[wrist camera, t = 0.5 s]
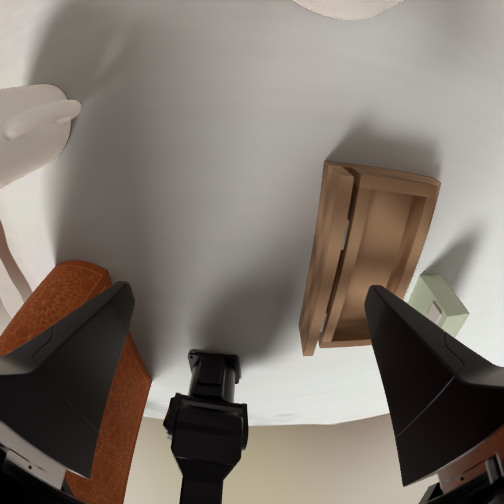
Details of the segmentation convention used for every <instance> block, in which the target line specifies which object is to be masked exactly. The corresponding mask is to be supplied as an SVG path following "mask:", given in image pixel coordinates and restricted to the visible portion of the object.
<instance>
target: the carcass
mask: <svg viewBox="0 0 504 504" xmlns="http://www.w3.org/2000/svg"><path fill="white" fill-rule="evenodd" d="M440 185H441V183H440V182H439V181H437V180H435V179H434V178H431V177H427V176H422V175H417V174H412V173H406V172H401V171H395V170H389V169H383V168H377V167H370V166H363V165H356V164H348V163H340V162H331V161H324V168H323V177H322V186H321V194H320V202H319V209H318V216H317V223H316V230H315V237H314V243H313V250H312V256H311V262H310V268H309V273H308V279H307V285H306V290H305V295H304V301H303V306H302V311H301V316H300V321H299V330H300V337H301V344H302V351H303V356H313V354H314V350H315V347H316V344H317V341H319V346H320V348H334V347H351V346H365V345H372V343H371V339H370V334H369V329H368V323H367V318H366V313H365V309H364V303H365V299H366V296H367V293H368V289H369V287H370V286H371V285H381V286H383V287H384V288H386V289H387V290H389V291H390V292H392V293H393V294H394V295H396V296H397V297H399V298H400V299H402V300H403V298H404V296H405V294H406V291H407V289H408V286H409V284H410V282H411V279H412V276H413V274H414V271H415V269H416V266H417V263H418V260H419V258H420V255H421V252H422V249H423V246H424V243H425V240H426V237H427V234H428V230H429V227H430V224H431V220H432V217H433V213H434V209H435V206H436V202H437V198H438V194H439V189H440Z"/></svg>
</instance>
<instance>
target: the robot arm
mask: <svg viewBox="0 0 504 504" xmlns="http://www.w3.org/2000/svg"><path fill="white" fill-rule="evenodd" d="M134 305H135V299H134V296H133V292H132V289H131V286H130V283H129V282H124V281H119V282H117V283H115V284H114V285H112V286H111V287H109V288H108V289H106V290H104V291H103V292H101V293H100V294H98V295H97V296H95V297H94V298H92V299H91V300H89V301H88V302H86V303H84V304H83V305H81V306H80V307H78V308H77V309H75V310H74V311H72V312H71V313H69V314H68V315H66V316H65V317H64V318H62V319H61V320H59V321H58V322H56V323H55V324H54V325H52V326H50V327H49V328H48V329H46V330H45V331H43V332H42V333H40V334H39V335H37V336H36V337H34V338H32V339H31V340H29V341H27V342H26V343H24V344H23V345H21V346H19V347H18V348H16V349H14V350H13V351H11V352H9V353H8V354H6V355H4V356H1V357H0V504H89V503H87V502H84V501H82V500H80V499H78V498H76V497H75V496H74V495H73V493H72V491H71V489H70V487H69V485H68V483H67V481H66V479H65V478H64V475H65V471H66V469H67V470H69V471H71V472H73V473H75V474H78V475H80V476H82V477H85V478H87V479H90V476H91V470H92V465H93V460H94V454H95V450H96V445H97V440H98V436H99V431H100V427H101V422H102V418H103V414H104V411H105V407H106V403H107V399H108V396H109V392H110V389H111V385H112V382H113V378H114V375H115V372H116V369H117V365H118V362H119V359H120V356H121V353H122V350H123V347H124V344H125V341H126V338H127V334H128V330H129V325H130V321H131V317H132V313H133V309H134ZM364 309H365V313H366V318H367V323H368V329H369V334H370V339H371V343H372V347H373V350H374V354H375V357H376V360H377V364H378V368H379V371H380V375H381V379H382V383H383V386H384V390H385V394H386V398H387V403H388V407H389V411H390V415H391V420H392V425H393V430H394V435H395V440H396V446H397V451H398V457H399V463H400V470H401V476H402V483H403V486H404V487H405V486H408V485H411V484H413V483H416V482H418V481H421V480H423V479H426V478H428V477H430V476H433V475H435V474H438V478H439V482H438V483H436V484H434V485H432V486H430V487H428V489H427V491H426V493H425V494H424V496H423V498H422V499H421V501H420V502H419V504H504V367H500V366H496V365H494V364H492V363H491V362H489V361H488V360H486V359H485V358H483V357H482V356H480V355H479V354H477V353H476V352H474V351H472V350H471V349H469V348H468V347H466V346H465V345H464V344H462V343H461V342H459V341H458V340H456V339H455V338H454V337H452V336H451V335H450V334H448V333H447V332H446V331H444V330H443V329H442V328H440V327H439V326H438V325H436V324H435V323H434V322H432V321H431V320H429V319H428V318H427V317H425V316H424V315H423V314H421V313H420V312H418V311H417V310H416V309H414V308H413V307H412V306H410V305H409V304H407V303H406V302H404V301H403V300H402V299H400V298H399V297H397V296H396V295H394V294H393V293H392V292H390V291H389V290H387V289H386V288H384V287H383V286H381V285H371V286H370V287H369V289H368V293H367V296H366V299H365V303H364ZM188 360H189V364H190V368H191V372H192V377H191V382H190V388H189V393H188V396H187V395H182V394H181V393H176V395H175V397H173V398H171V400H170V405H169V409H168V412H167V414H166V417H165V419H164V422H163V426H164V427H165V429H166V432H167V438H168V439H171V440H172V444H171V450H172V454H173V457H174V459H175V461H176V463H177V465H178V467H179V469H180V471H181V473H182V475H183V478H182V487H181V494H180V503H179V504H222V490H223V480H224V479H225V478H226V476H227V475H228V474H229V473H230V472H231V470H232V469H233V468H234V467H235V465H236V464H237V463H238V462H239V460H240V459H241V451H242V450H245V448H246V445H247V441H248V414H247V404H244V403H242V404H238V403H234V389H235V384H238V383H239V358H238V356H234V355H216V354H203V353H189V354H188Z"/></svg>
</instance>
